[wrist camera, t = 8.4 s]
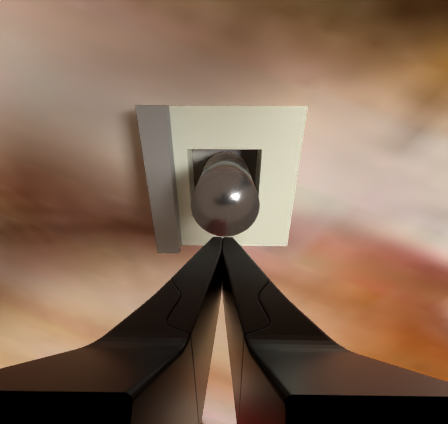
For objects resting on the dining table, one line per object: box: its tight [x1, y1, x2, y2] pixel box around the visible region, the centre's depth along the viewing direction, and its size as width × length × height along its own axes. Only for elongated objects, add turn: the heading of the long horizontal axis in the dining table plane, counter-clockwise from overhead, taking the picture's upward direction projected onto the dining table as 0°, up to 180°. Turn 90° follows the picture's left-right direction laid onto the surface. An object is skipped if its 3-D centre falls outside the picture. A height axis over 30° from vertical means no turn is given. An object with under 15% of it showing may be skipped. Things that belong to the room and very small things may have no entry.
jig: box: [135, 105, 308, 253], centre depth 17 cm, size 11×11×4 cm
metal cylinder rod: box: [191, 152, 260, 237], centre depth 16 cm, size 4×4×7 cm
